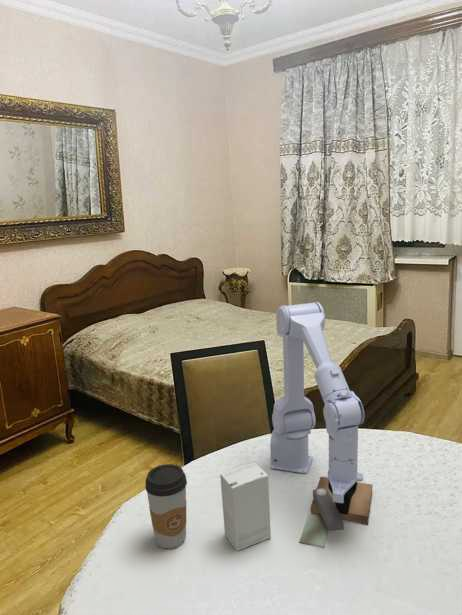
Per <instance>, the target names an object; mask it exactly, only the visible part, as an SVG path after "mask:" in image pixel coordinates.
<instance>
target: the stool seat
mask: <svg viewBox="0 0 462 615" xmlns="http://www.w3.org/2000/svg"><path fill="white" fill-rule="evenodd" d="M328 483H329V478H328V476H319V480H318V483H317V486H316V489H323V488H326V489H327V491H328V493H329V494H330V496H331V498H332V500H333V495H332V493H331V491H330V490H329V487H328ZM372 498H373V483H372V484H371V483H365V482H359V481H357V488H356V491H355V493H354V495H353V496H352V498H351V501H350V507H349V511H348V514H347V515H346V514H340V515H341V517H342V519H343V520H344V522H351V523H356V524H361V525H368V524H369V517H370V510H371V505H372V504H371V503H372ZM334 504H335V502H334ZM335 506H336V504H335ZM328 535H329V530H328V528H327V526H326V524H325V522H324V520H323V517H322V515H321V513H320V511H319V509H318V507H317V505H316V503H315V501H314V499H313V498H312V502H311V505H310V513H307V517H306V520H305V522H304V527H303V528H302V531H301V535H300V538H299V541H298V543H299V544H304V545H309V546H313V547H318V548H323V549H325V545H326V542H327V537H328Z"/></svg>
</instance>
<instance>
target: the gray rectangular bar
mask: <svg viewBox="0 0 462 615" xmlns="http://www.w3.org/2000/svg"><path fill="white" fill-rule="evenodd" d="M313 499H314V501H315V503H316V505H317V507H318V509H319V511H320V513H321V515H322V517H323V520H324V522H325V524H326V526H327V528H328V530H329V531H328V533H332V532H338V531H345V521H344V520H343V519H342V517H341V515H340V513H339V511H338V509H337V507H336V506H335V504H334V502H333V500H332V498H331V496H330V494H329V493H328V491H327V489H326V488H323V489H317V488H315V489H312V500H313Z"/></svg>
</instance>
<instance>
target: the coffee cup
mask: <svg viewBox="0 0 462 615" xmlns="http://www.w3.org/2000/svg"><path fill="white" fill-rule="evenodd" d="M186 475H187V474H186V473H185V472H184V470H183V468H182V467H181V466H180V465H177V464H171V463H169V464H167V463H166V464H160V465H157V466H155V467H153V468H151V469H150V470H149V471H148V473H147V476H146V478H145V484H144V485H145V486H144V488H145V491H146V493H147V494H146V495H147V500H148V508H149V514H150V519H151V524H152V525H151V526H152V528H153V535H154V540H155V542H156V544H157V546H159V547H160V546H161V547H160V548H162V547H163V548H162V549H165V548H172V549H175V548H174V547H176V548H177V546H178V547H180V546H181V545H182V544H183V543H184V542H183V541H185V540H186V537H187V484H188V480H187V476H186ZM184 539H185V540H184ZM182 542H183V543H182ZM181 543H182V544H181ZM180 544H181V545H180ZM179 545H180V546H179Z"/></svg>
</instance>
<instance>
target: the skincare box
mask: <svg viewBox="0 0 462 615" xmlns="http://www.w3.org/2000/svg"><path fill="white" fill-rule="evenodd" d="M219 478H220V490H221V501H222V513H223V514H222V515H223V527H224V535H225V537H226V538H227V540H228V541H229V540H230V541H229V543H230V544H231V543H232V544H231V545H232V547H233V546H234V547H235V548H234V547H233V548H234V549H235V551H236V550H239V551H241V550H243V548H244V549H246V548H249V547H250V545H251V546H252V545H255V544H258V543H260V542H263V541H265V540H268V539H271V538H272V536H271V535H272V534H271V532H272V531H271V530H272V529H271V512H270V511H271V510H270V492H269V488H270V486H269V475H268V474H267V473H266V472H265V471H264V470H263V469H262V468H261V467H260V466H259V465H258V464H257V463H256V462H255V461H254V462H251V463H248V464H247V463H246V464H245V465H242V466H239V467H237V468H233V469H231V470H226V471H225V472H222V473H220V474H219ZM248 546H249V547H248ZM245 547H246V548H245ZM240 549H241V550H240Z"/></svg>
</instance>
